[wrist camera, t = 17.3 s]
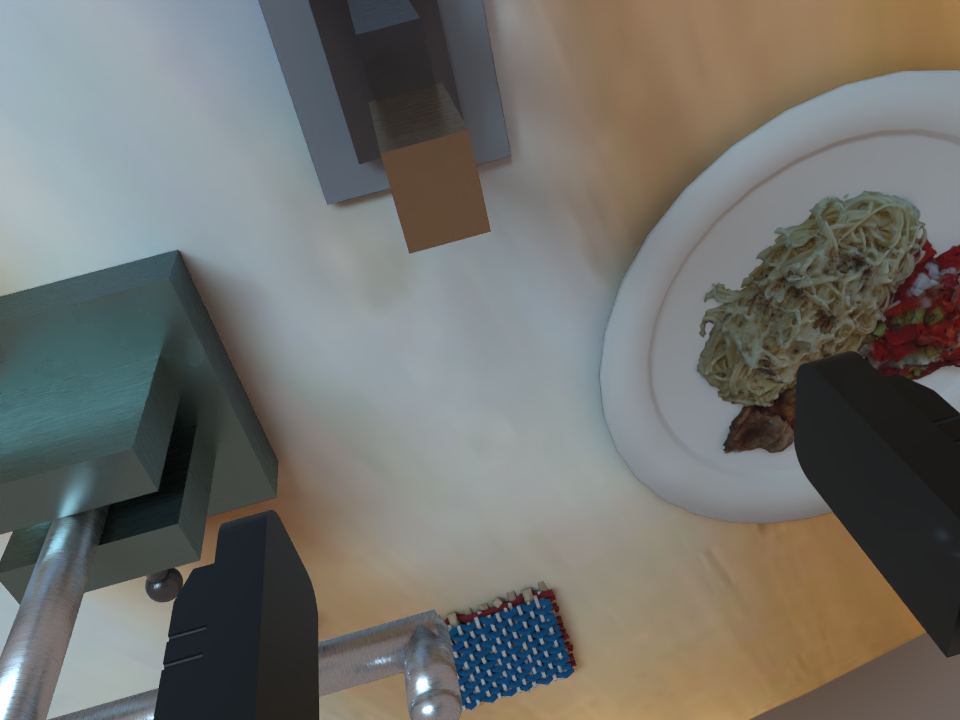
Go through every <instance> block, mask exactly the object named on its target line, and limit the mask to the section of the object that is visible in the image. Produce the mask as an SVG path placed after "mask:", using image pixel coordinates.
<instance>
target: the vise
mask: <svg viewBox="0 0 960 720" xmlns="http://www.w3.org/2000/svg"><path fill="white" fill-rule="evenodd" d="M277 478H278V461H277V458H276V456H275V454H274V452H273V450H272V448H271V446H270V444H269V441H268V439H267V437H266V435H265V433H264V431H263V429H262V427H261V425H260V422H259V420H258V418H257V416H256V414H255V412H254V410H253V408H252V405H251V403H250V401H249V399H248V397H247V395H246V393H245V391H244V389H243V386H242V384H241V382H240V380H239V378H238V376H237V374H236V372H235V369H234V367H233V365H232V363H231V361H230V359H229V357H228V355H227V353H226V350H225V348H224V346H223V344H222V342H221V340H220V338H219V336H218V333H217V331H216V329H215V327H214V325H213V323H212V321H211V319H210V317H209V314H208V312H207V310H206V308H205V306H204V304H203V302H202V300H201V297H200V295H199V293H198V291H197V289H196V287H195V285H194V283H193V280H192V278H191V276H190V274H189V272H188V270H187V268H186V266H185V264H184V261H183V259H182V257H181V255H180V253H179V251H178V250H175V251H172V252H168V253H164V254H160V255H157V256H153V257H149V258H145V259H141V260H138V261H134V262H130V263H126V264H122V265H119V266H115V267H111V268H107V269H104V270H100V271H96V272H92V273H88V274H85V275H81V276H77V277H73V278H69V279H66V280H62V281H58V282H54V283H51V284H47V285H43V286H39V287H35V288H32V289H28V290H24V291H20V292H16V293H13V294H9V295H5V296H1V297H0V534H4V533H7V532H11V531H13V533H12V535H11V537H10V540H9V542H8V544H7V547H6V549H5V551H4V554H3V556H2V558H1V561H0V582H1V583H2V584H3V585H4V586H5V588H6V589H7V590H8V591H9V592H10V594H11V595H12V596H13V597H14V598H15V599H16V601H17V602H18V603H19V604H20V607H19V610H18V612H17V615H16V618H15V620H14V623H13V626H12V628H11V631H10V634H9V636H8V639H7V641H6V644H5V647H4V649H3V652H2V655H1V657H0V720H46V718H47V714H48V711H49V708H50V704H51V701H52V698H53V694H54V691H55V688H56V684H57V681H58V678H59V674H60V671H61V668H62V664H63V661H64V658H65V654H66V651H67V648H68V644H69V641H70V638H71V634H72V631H73V628H74V624H75V621H76V618H77V614H78V611H79V608H80V604H81V601H82V598H83V594H84V593H85V592H88V591H92V590H96V589H99V588H103V587H106V586H110V585H113V584H117V583H121V582H124V581H128V580H131V579H135V578H139V577H142V576H146V577H147V580H146V584H145V588H146V592H147V594H148V596H149V597H150V598H151V599H152V600H154V601H157V602H168V601H171V600H173V599H174V598H176V597H177V596H178V594H179V593H180V591H181V589H182V587H183V578H182V575H181V573H180V572H179V571H178V570H177V569H175V568H174V567H178V566H181V565H185V564H189V563H192V562H196V561H199V560H200V558H201V551H202V545H203V538H204V532H205V525H206V518H207V517H208V516H212V515H216V514H219V513H223V512H226V511H230V510H234V509H237V508H241V507H244V506H248V505H252V504H255V503H259V502H262V501H266V500H270V499H273V498H277ZM318 659H319V697H320V696H323V695H327V694H330V693H334V692H337V691H340V690H344V689H347V688H351V687H354V686H358V685H361V684H365V683H368V682H372V681H375V680H379V679H382V678H386V677H389V676H393V675H396V674H400V673H403V672H404V676H405V684H406V693H407V702H408V710H409V715H410V718H411V720H459V718H460V715H461V710H462V699H461V694H460V688H459V683H458V677H457V672H456V666H455V660H454V655H453V649H452V644H451V638H450V633H449V629H448V627H447V625H446V623H445V622H444V621H443V620H442V619H441V618H440V617H438V616H437V613H436V611H435V610H430V611H427V612H423V613H420V614H416V615H413V616H409V617H406V618H402V619H399V620H395V621H392V622H388V623H385V624H381V625H378V626H374V627H371V628H367V629H364V630H360V631H357V632H353V633H350V634H346V635H343V636H339V637H336V638H332V639H329V640H325V641H322V642H318ZM158 690H159V688H157V689H154V690H150V691H147V692H143V693H139V694H136V695H132V696H129V697H125V698H122V699H118V700H115V701H111V702H108V703H104V704H101V705H97V706H94V707H90V708H87V709H83V710H80V711H76V712H73V713H69V714H66V715H62V716H59V717H55V718H52V719H48V720H153V718H154V712H155V707H156V701H157V695H158Z"/></svg>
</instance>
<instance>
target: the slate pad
mask: <svg viewBox="0 0 960 720" xmlns="http://www.w3.org/2000/svg"><path fill="white" fill-rule="evenodd" d="M437 2H438V7H439V11H440V16H441V21H442V25H443V30H444V34H445V39H446V43H447V48H448V52H449V57H450V61H451V66H452V70H453V75H454V79H455V84H456V88H457V93H458V97H459V102H460V106H461V111H462V115H463V120H464V123H465V125H466V126H467V128H468V130H469V135H470V139H471V144H472V148H473V153H474V157H475V162H476V165H480V164H484V163H488V162H492V161H495V160H499V159H503V158H507V157H510V156H511V155H510V149H509V144H508V138H507V133H506V128H505V122H504V117H503V111H502V106H501V100H500V95H499V90H498V84H497V79H496V73H495V68H494V62H493V57H492V52H491V46H490V41H489V35H488V30H487V24H486V19H485V14H484V8H483V3H482V0H437ZM259 3H260V6H261V9H262V12H263V15H264V18H265V21H266V24H267V27H268V30H269V33H270V36H271V39H272V42H273V45H274V48H275V51H276V54H277V57H278V60H279V63H280V66H281V69H282V72H283V75H284V78H285V81H286V84H287V87H288V90H289V93H290V96H291V98H292V101H293V104H294V107H295V110H296V113H297V116H298V119H299V122H300V125H301V128H302V131H303V134H304V137H305V140H306V143H307V146H308V149H309V152H310V155H311V158H312V161H313V164H314V167H315V170H316V173H317V176H318V179H319V182H320V185H321V188H322V191H323V193H324V196H325V199H326V202H327V205H329V204H332V203H336V202H340V201H344V200H348V199H351V198H355V197H359V196H363V195H367V194H370V193H374V192H378V191H382V190H385V189H389V188H390V185H389V182H388V178H387V175H386V171H385V168H384V164H383V161H382V158H381V159H377V160H374V161H370V162H366V163H363V164H359V162H358V159H357V156H356V153H355V149H354V146H353V143H352V140H351V136H350V133H349V130H348V127H347V124H346V120H345V117H344V114H343V111H342V107H341V104H340V101H339V98H338V94H337V91H336V88H335V85H334V82H333V78H332V75H331V72H330V69H329V65H328V62H327V59H326V56H325V52H324V49H323V46H322V43H321V40H320V36H319V33H318V30H317V27H316V23H315V20H314V17H313V14H312V10H311V7H310V4H309V1H308V0H259Z"/></svg>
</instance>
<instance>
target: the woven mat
mask: <svg viewBox="0 0 960 720" xmlns="http://www.w3.org/2000/svg"><path fill="white" fill-rule="evenodd" d="M538 586H539V590H538V592H535V591H531V588H527V589H524V590H521V591H522V593H521V594H520V595H519V596H518V597H517V596H516V594H515V592H514V591H511V592H508V593H507V595H508V599H509V602H508V603H505V604H503V602H502V599H501V598H495V599H494V600H493V605H494V606H495V607H492V608H489V609H488V606H487V603H483V604H480V605H478V608H479V610H477V613H474V614H473V613H472V611H471V609H470V608H468V609H465V610H463V611H464V614H465V615H460V614H457V615H456V613H455V612H454V613H451V614H448V615H447V617H448V618H447V619H446V620H445V621H444V622H445V623H446V625H447V627H448V629H449V633H450V638H451V644H452V649H453V655H454V660H455V666H456V672H457V677H458V683H459V688H460V694H461V699H462V709H463V711H464V710H466V709H467V708H468V709H471V710H472V711H473V710H475V708H474V707H475V706H476V705H477V706H478V705H482V704H481V703H480V702H481V701H483V702H491V704H494V703H495V702H494V701H495V700H496V699H497V698H499V699H500V698H502V696H507V697H508V698H510V697H511V696H512V695H514V694H515V693H516V692H517V691H518V693H520V692H521V690H524V691H526V692H527V693H528V692H530V690H529V689H530V688H531V687H532V686H533V687H534V688H535V687H536V686H537V685H536V683H538V684H546V686H548V685H549V683H550V682H551V681H552V680H553V679H554V681H556V680H557V678H561V679H562V680H563V679H565V678H568V677H569V676H570V675H571V674H572V673H573V672H574V669H573V668H572V667H573V666H576V662H575V660H572V659H574V656H573V654H572V653H571V654H569V652H568V650H569V651H573V645H570V644H569V642H565V641H564V640H566V639H568V638H569V636H568V634H566V631H565V629H564V626H563V623H559V622H562V619H561V617H560V616H557V617H556V613H555V612H558V611H559V606H557V604H556V603H553V604H552V601H553V600H555V599H556V598H555V595H554V594H553V592H552V589H551V590H548V589H547V587H546V585H545V583H544V581H542V582H539V583H538ZM538 599H539V600H538ZM524 600H525V602H526V604H525V605H522V604H521V603H522V602H523V601H524ZM540 606H542V607H540ZM530 616H531V618H529V617H530ZM438 617H440V615H438ZM440 618H441V617H440ZM441 619H442V618H441ZM545 619H546V620H545ZM497 620H498V621H497ZM460 621H463V622H468V623H467V624H465V625H463V624H461V622H460ZM512 621H514V624H513V623H512ZM481 623H482V624H483V626H484V627H482V626H481V625H480V624H481ZM529 625H530V626H529ZM497 628H498V629H497ZM465 631H466V633H465ZM476 649H477V650H478V651H475V650H476ZM558 657H559V658H558ZM527 659H528V660H529V661H528V660H527ZM562 670H563V671H564V672H563V671H562ZM558 671H559V672H558ZM546 675H549V676H548V677H547V676H546ZM541 676H542V677H543V678H540V677H541ZM527 683H528V684H527ZM523 684H524V685H523ZM492 686H493V687H492ZM508 688H510V690H509V689H508ZM502 689H504V690H502ZM491 693H494V694H493V695H492V694H491ZM486 695H487V696H486ZM470 699H471V700H470ZM472 700H473V701H472Z"/></svg>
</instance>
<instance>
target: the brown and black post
mask: <svg viewBox="0 0 960 720" xmlns="http://www.w3.org/2000/svg"><path fill="white" fill-rule="evenodd" d="M308 1H309V4H310V7H311V10H312V14H313V17H314V20H315V23H316V27H317V30H318V33H319V36H320V40H321V43H322V46H323V49H324V52H325V56H326V59H327V62H328V65H329V69H330V72H331V75H332V78H333V82H334V85H335V88H336V91H337V94H338V98H339V101H340V104H341V107H342V111H343V114H344V117H345V120H346V124H347V127H348V130H349V133H350V136H351V140H352V143H353V146H354V149H355V153H356V156H357V159H358V162H359V164H363V163H366V162H370V161H374V160H377V159H381V158H382V161H383V164H384V168H385V171H386V175H387V178H388V182H389V185H390V188H391V192H392V195H393V199H394V202H395V206H396V209H397V213H398V216H399V219H400V223H401V226H402V230H403V233H404V237H405V240H406V244H407V247H408V250H409V254H410V253H414V252H417V251H421V250H425V249H428V248H432V247H435V246H439V245H443V244H446V243H450V242H454V241H457V240H461V239H465V238H468V237H472V236H476V235H479V234H483V233H487V232H490V231H491V230H490V226H489V221H488V217H487V212H486V207H485V203H484V198H483V194H482V189H481V185H480V180H479V176H478V171H477V166H476V162H475V157H474V153H473V148H472V144H471V139H470V135H469V130H468V128H467V126H466V125H465V123H464V120H463V115H462V111H461V106H460V102H459V97H458V93H457V88H456V84H455V79H454V75H453V70H452V66H451V61H450V57H449V52H448V48H447V43H446V39H445V34H444V30H443V25H442V21H441V16H440V11H439V7H438V2H437V0H308Z"/></svg>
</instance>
